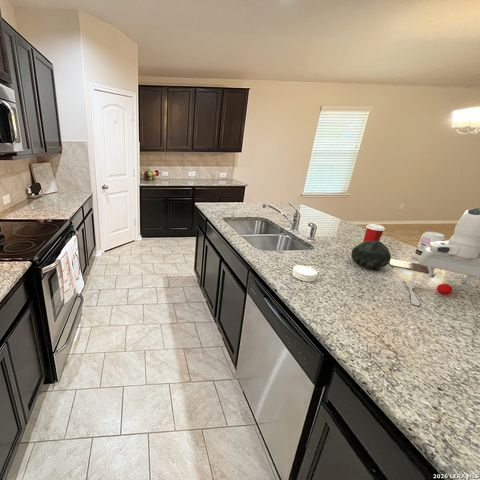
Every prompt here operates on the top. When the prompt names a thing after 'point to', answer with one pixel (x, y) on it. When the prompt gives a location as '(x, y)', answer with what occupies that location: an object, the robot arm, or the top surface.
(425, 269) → the serving board
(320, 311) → the top surface
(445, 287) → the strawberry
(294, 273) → the coaster
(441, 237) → the supplement can
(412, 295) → the fork
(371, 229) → the coffee cup
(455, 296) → the top surface
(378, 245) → the squash
